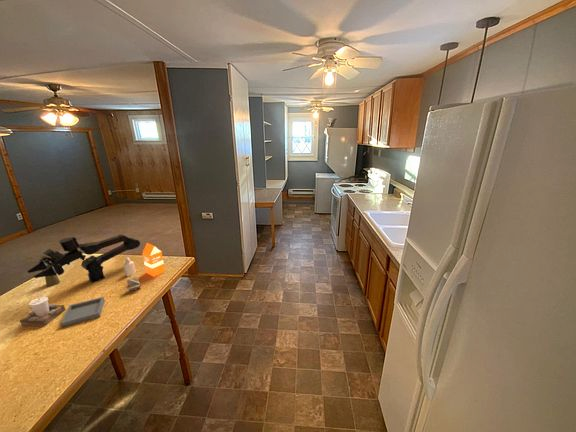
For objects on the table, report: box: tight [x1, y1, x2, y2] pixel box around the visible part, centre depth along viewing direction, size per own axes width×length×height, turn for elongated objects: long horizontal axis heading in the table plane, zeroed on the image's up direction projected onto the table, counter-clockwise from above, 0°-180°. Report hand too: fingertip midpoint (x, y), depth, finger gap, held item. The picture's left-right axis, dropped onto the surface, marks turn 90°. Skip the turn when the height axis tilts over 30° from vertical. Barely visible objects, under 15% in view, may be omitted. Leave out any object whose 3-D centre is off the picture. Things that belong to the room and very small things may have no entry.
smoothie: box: [28, 291, 50, 318], centre depth 111 cm, size 6×6×14 cm
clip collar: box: [19, 303, 66, 327], centre depth 113 cm, size 11×11×4 cm
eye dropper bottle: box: [123, 256, 137, 277], centre depth 148 cm, size 4×6×12 cm
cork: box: [41, 269, 61, 287], centre depth 138 cm, size 6×6×11 cm
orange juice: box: [142, 242, 166, 278], centre depth 150 cm, size 8×9×20 cm
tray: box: [60, 296, 105, 328], centre depth 116 cm, size 14×14×2 cm
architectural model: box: [124, 276, 142, 291], centre depth 133 cm, size 3×7×7 cm, turn 125°
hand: (31, 274), depth 119 cm, fingers open, 9 cm apart
